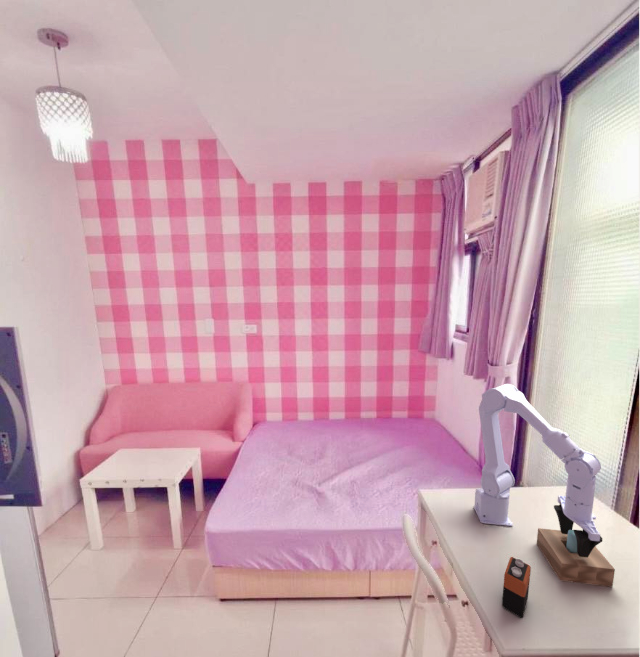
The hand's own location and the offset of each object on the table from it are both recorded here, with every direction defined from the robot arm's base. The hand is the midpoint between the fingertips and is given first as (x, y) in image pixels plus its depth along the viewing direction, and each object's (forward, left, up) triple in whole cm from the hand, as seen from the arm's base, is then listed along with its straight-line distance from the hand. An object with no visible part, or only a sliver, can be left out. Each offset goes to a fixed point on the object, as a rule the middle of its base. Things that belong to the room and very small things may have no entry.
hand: (573, 544), depth 87 cm
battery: (-20, -14, -6) cm, 25 cm away
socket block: (0, 0, -6) cm, 6 cm away
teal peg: (0, 0, -5) cm, 5 cm away
